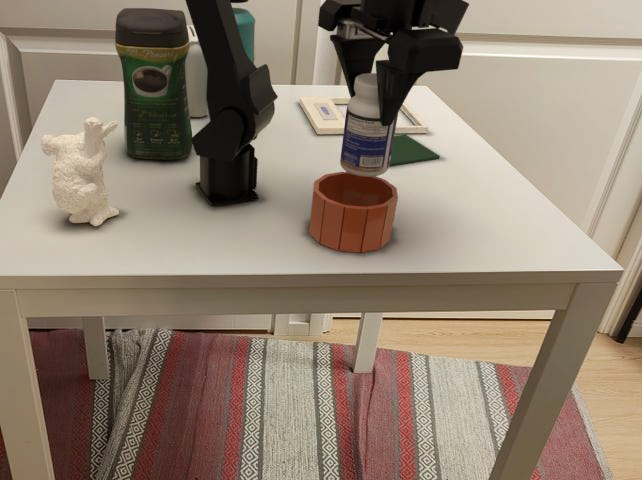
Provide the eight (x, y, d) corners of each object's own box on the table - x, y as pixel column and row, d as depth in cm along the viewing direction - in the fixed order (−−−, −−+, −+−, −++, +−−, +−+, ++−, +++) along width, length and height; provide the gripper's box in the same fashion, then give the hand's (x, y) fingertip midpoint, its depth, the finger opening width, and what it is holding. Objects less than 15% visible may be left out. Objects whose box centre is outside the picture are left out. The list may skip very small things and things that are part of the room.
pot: (334, 258, 74) (340, 214, 70) (295, 220, 80) (299, 178, 77) (404, 243, 77) (414, 200, 73) (362, 208, 84) (368, 167, 80)
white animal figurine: (129, 206, 81) (120, 108, 74) (123, 233, 76) (113, 130, 68) (60, 205, 81) (44, 106, 73) (49, 231, 76) (30, 128, 68)
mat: (388, 166, 94) (389, 163, 94) (356, 143, 100) (356, 141, 100) (439, 158, 97) (440, 155, 97) (405, 136, 104) (405, 134, 103)
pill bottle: (356, 154, 80) (369, 67, 73) (397, 168, 77) (414, 79, 70) (329, 167, 76) (340, 78, 70) (371, 182, 73) (386, 91, 67)
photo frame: (299, 96, 113) (399, 95, 115) (299, 102, 113) (398, 102, 116) (318, 127, 102) (428, 125, 104) (317, 134, 102) (426, 132, 105)
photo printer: (175, 97, 113) (172, 19, 105) (200, 97, 114) (199, 18, 106) (184, 119, 105) (181, 35, 97) (210, 118, 106) (210, 35, 98)
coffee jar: (194, 142, 98) (192, 4, 86) (189, 164, 92) (186, 18, 80) (130, 139, 98) (118, 0, 86) (120, 160, 92) (107, 14, 80)
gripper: (530, -32, 59) (483, 139, 69) (413, -63, 72) (388, 84, 82) (427, -29, 55) (393, 151, 65) (323, -63, 68) (309, 92, 78)
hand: (371, 116), depth 73 cm, fingers closed on pill bottle, 6 cm apart
